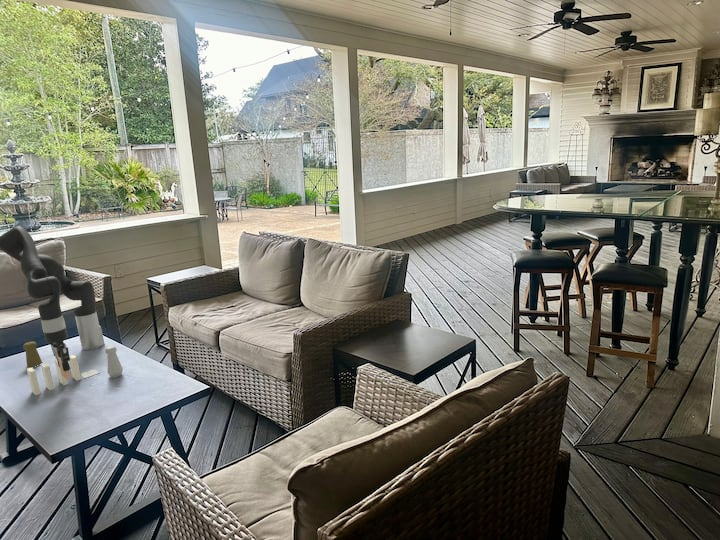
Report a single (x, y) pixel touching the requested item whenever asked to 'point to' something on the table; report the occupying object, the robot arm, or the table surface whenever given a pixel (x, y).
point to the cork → (32, 354)
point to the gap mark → (89, 373)
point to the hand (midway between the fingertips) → (64, 368)
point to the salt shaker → (113, 362)
